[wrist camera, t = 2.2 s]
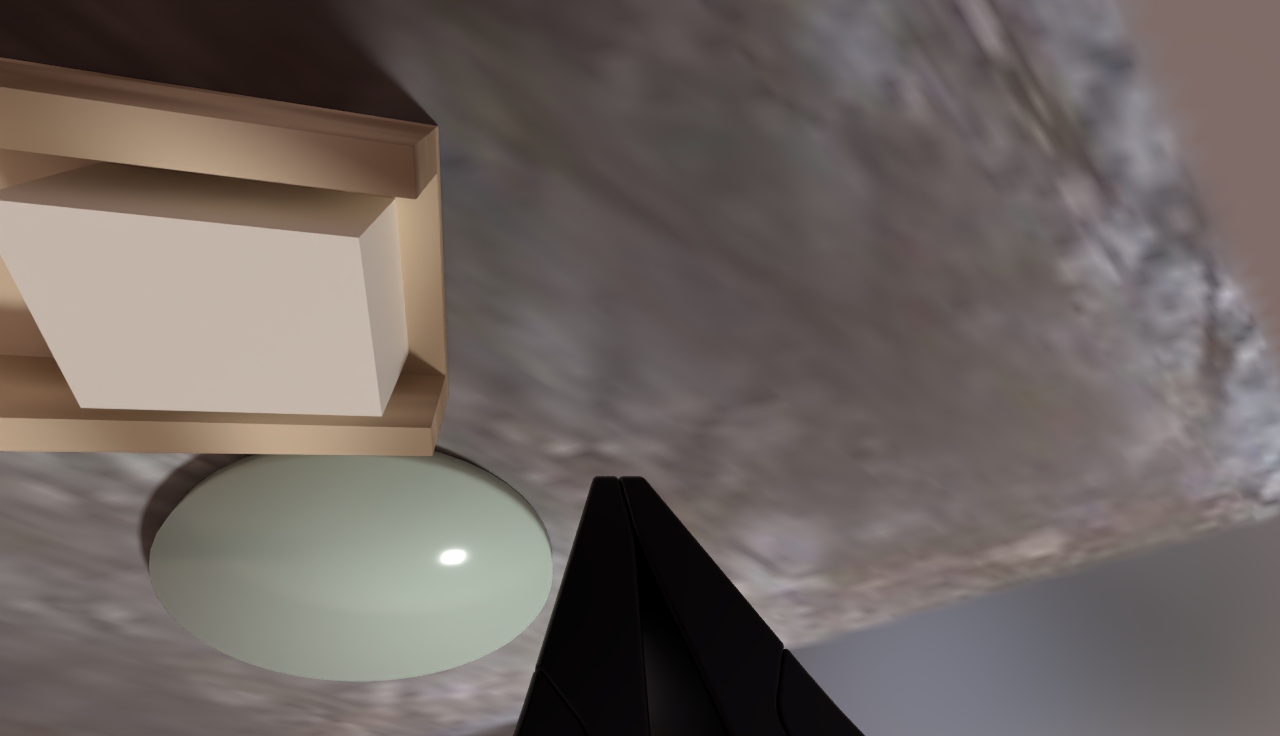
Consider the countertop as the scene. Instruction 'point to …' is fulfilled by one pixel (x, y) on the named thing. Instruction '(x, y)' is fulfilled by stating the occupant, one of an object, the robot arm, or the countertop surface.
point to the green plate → (353, 564)
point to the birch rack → (240, 149)
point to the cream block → (210, 290)
